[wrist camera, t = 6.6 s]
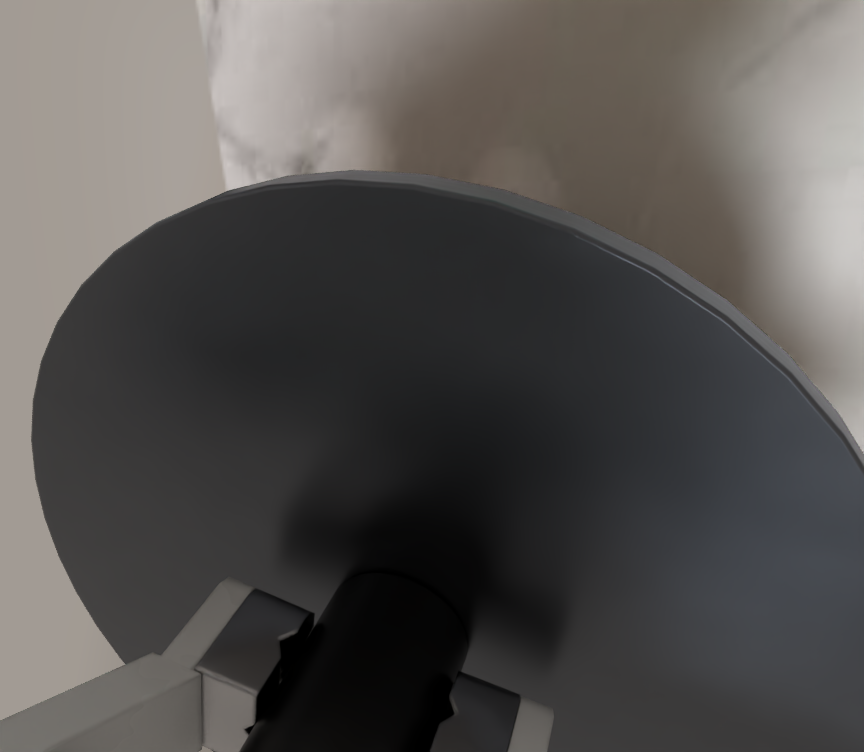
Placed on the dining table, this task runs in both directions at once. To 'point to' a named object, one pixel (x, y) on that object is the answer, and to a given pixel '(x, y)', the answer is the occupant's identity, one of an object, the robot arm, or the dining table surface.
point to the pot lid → (458, 471)
